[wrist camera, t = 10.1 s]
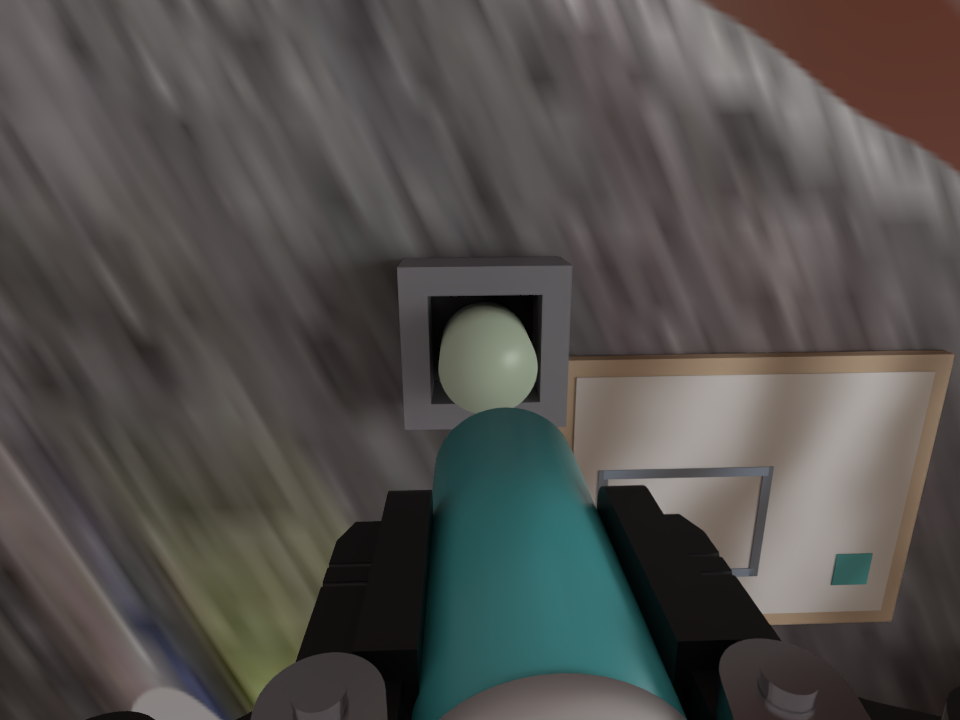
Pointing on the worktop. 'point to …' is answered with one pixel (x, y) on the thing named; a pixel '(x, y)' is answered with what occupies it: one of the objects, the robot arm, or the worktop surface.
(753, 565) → the framed whiteboard
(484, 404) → the button
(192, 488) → the worktop surface
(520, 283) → the button housing
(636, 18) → the worktop surface
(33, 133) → the worktop surface
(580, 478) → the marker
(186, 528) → the worktop surface
